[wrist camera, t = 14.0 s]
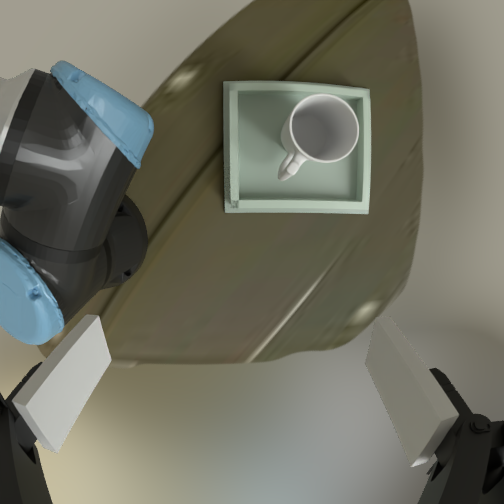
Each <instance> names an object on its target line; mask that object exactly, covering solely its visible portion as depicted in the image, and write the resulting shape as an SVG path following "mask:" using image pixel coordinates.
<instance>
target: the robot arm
mask: <svg viewBox="0 0 504 504" xmlns="http://www.w3.org/2000/svg"><path fill="white" fill-rule="evenodd" d="M50 72H51V74H49V73H45V72H42V71H40V70H37V69H33V68H31V69H29V70H28V71H26V72H24V73H22V74H20V75H18V76H16V77H14V78H12V79H8V80H7V79H4V78H0V206H3V209H2V213H1V218H0V325H1V327H2V328H3V329H4V330H6V331H7V332H8V333H9V334H10V335H12V336H13V337H14V338H16V339H18V340H19V341H21V342H24V343H26V344H35V345H40V344H43V343H45V342H47V341H48V340H50V339H51V338H52V337H53V336H54V335H56V334H57V333H59V332H61V331H62V329H63V327H64V326H65V325H66V324H67V323H68V322H69V321H70V320H71V319H72V318H73V317H74V315H75V314H76V313H77V312H78V311H79V310H80V309H81V308H82V307H83V306H84V305H85V304H86V303H87V302H88V301H89V300H90V299H91V298H92V297H93V296H94V295H95V294H96V293H97V292H98V291H99V290H102V289H106V288H110V287H114V286H118V285H120V284H122V283H124V282H126V281H127V280H128V279H130V278H131V277H132V276H133V275H134V274H135V273H136V271H137V270H138V269H139V268H140V266H141V265H142V263H143V261H144V258H145V255H146V251H147V244H148V238H147V230H146V225H145V222H144V219H143V217H142V215H141V213H140V211H139V209H138V208H137V206H136V205H135V204H134V203H133V202H132V201H131V200H130V199H129V198H128V197H127V196H126V195H125V193H126V191H127V189H128V186H129V184H130V182H131V180H132V178H133V176H134V174H135V172H136V170H137V169H139V168H140V166H141V162H140V161H141V159H142V157H143V154H144V152H145V150H146V148H147V146H148V144H149V142H150V140H151V138H152V135H153V132H154V123H153V120H152V118H151V116H150V115H149V114H148V113H147V112H146V111H145V110H143V109H142V108H141V107H139V106H138V105H136V104H135V103H133V102H132V101H130V100H129V99H128V98H126V97H124V96H123V95H121V94H120V93H118V92H117V91H115V90H114V89H112V88H110V87H109V86H107V85H106V84H104V83H102V82H101V81H99V80H97V79H96V78H94V77H92V76H91V75H89V74H87V73H85V72H84V71H82V70H80V69H78V68H76V67H75V66H73V65H72V64H70V63H68V62H66V61H59V62H57V63H56V65H55V66H52V67H51V70H50ZM110 362H111V357H110V354H109V350H108V347H107V344H106V340H105V337H104V333H103V329H102V326H101V322H100V318H99V316H98V315H88V314H86V315H85V316H84V318H83V319H82V320H81V321H80V322H79V323H78V324H77V325H76V326H75V327H74V328H73V329H72V330H71V332H70V333H69V334H68V335H67V336H66V337H65V338H64V339H63V340H62V341H61V343H60V344H59V345H58V346H57V347H56V348H55V349H54V350H53V352H52V353H51V354H50V355H49V356H48V357H47V358H46V360H45V361H44V362H40V363H39V364H37V365H36V366H34V367H32V369H31V370H30V371H29V372H28V373H27V376H25V377H24V378H23V379H22V382H20V383H19V384H18V385H17V387H16V388H15V389H14V390H13V391H12V392H11V394H10V395H9V396H8V398H7V399H6V400H4V398H3V396H2V395H1V393H0V504H53V503H52V500H51V497H50V494H49V491H48V488H47V485H46V481H45V478H44V474H43V470H42V467H41V463H40V458H39V454H38V450H37V448H36V446H35V444H34V443H35V442H36V440H38V441H39V442H40V444H41V445H42V446H43V447H44V448H45V449H48V450H50V451H53V452H55V453H58V451H59V450H60V447H61V445H62V444H63V442H64V440H65V438H66V437H67V435H68V433H69V431H70V429H71V428H72V426H73V424H74V422H75V420H76V419H77V417H78V415H79V413H80V412H81V410H82V408H83V407H84V405H85V403H86V402H87V400H88V398H89V396H90V395H91V393H92V391H93V390H94V388H95V386H96V385H97V383H98V381H99V380H100V378H101V377H102V375H103V373H104V371H105V370H106V368H107V367H108V365H109V364H110ZM365 365H366V367H367V369H368V371H369V373H370V375H371V377H372V379H373V381H374V384H375V386H376V388H377V390H378V392H379V394H380V396H381V399H382V401H383V403H384V405H385V408H386V410H387V412H388V414H389V416H390V419H391V421H392V423H393V425H394V428H395V430H396V432H397V434H398V437H399V439H400V442H401V444H402V446H403V449H404V451H405V454H406V456H407V458H408V461H409V463H410V466H411V467H413V466H416V465H419V464H422V463H425V462H428V461H429V460H430V458H431V457H432V455H433V454H434V453H435V455H436V457H437V461H436V462H435V463H434V464H433V466H432V467H431V468H430V469H429V471H428V472H427V474H428V475H429V474H430V473H431V474H430V477H429V479H428V481H427V484H426V486H425V488H424V491H423V493H422V495H421V498H420V500H419V502H418V504H504V421H496V422H491V421H490V420H489V419H488V418H487V417H486V416H483V415H481V414H473V413H472V412H471V410H470V409H469V407H468V406H467V405H466V403H465V402H464V400H463V399H462V397H461V396H460V394H459V393H458V391H456V390H455V387H454V386H453V385H452V384H451V382H450V381H449V379H448V378H447V376H446V375H445V374H444V373H442V372H441V371H440V370H438V369H437V368H433V369H428V367H427V366H426V365H425V363H424V362H423V361H422V359H421V358H420V356H419V355H418V354H417V352H416V351H415V349H414V348H413V347H412V345H411V344H410V343H409V341H408V340H407V338H406V337H405V336H404V335H403V333H402V332H401V330H400V329H399V328H398V326H397V325H396V324H395V322H394V321H393V320H392V319H391V317H390V316H387V317H376V318H375V322H374V328H373V332H372V337H371V341H370V345H369V350H368V354H367V358H366V362H365ZM431 471H432V472H431Z"/></svg>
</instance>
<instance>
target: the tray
mask: <svg viewBox="0 0 504 504" xmlns="http://www.w3.org/2000/svg"><path fill="white" fill-rule="evenodd" d="M317 93H326V94H331V95H334V96H337V97H339V98H341V99H342V100H344V101H345V102H346V103H347V104H348V105H349V106H350V107H351V108H352V110H353V111H354V113H355V115H356V117H357V120H358V124H359V136H358V140H357V143H356V145H355V147H354V149H353V150H352V151H351V152H350V153H349V154H348V155H347V156H346V157H344V158H343V159H341V160H339V161H336V162H331V163H322V162H315V161H308V160H306V161H305V162H303V163H302V165H301V166H300V167H299V169H298V171H297V172H296V174H295V175H292V176H291V177H289V178H288V179H286V180H284V181H280V180H279V179H278V177H277V176H278V170H279V167H280V164H281V163H282V161H283V160H284V159H285V157H286V156H287V154H288V152H287V151H286V150H285V148H284V147H283V144H282V141H281V130H282V127H283V125H284V123H285V121H286V120H287V118H288V116H289V115H290V113H291V111H292V110H293V109H294V107H295V106H296V105H297V104H298V103H299V102H300V101H301V100H302V99H304V98H305V97H307V96H309V95H312V94H317ZM223 119H224V191H225V213H244V212H297V213H352V214H368V210H369V195H370V171H371V111H370V91H369V89H364V88H357V87H350V86H341V85H332V84H322V83H309V82H291V81H226V82H223Z"/></svg>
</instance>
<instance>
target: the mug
mask: <svg viewBox="0 0 504 504" xmlns="http://www.w3.org/2000/svg"><path fill="white" fill-rule="evenodd" d="M358 136H359V124H358V120H357V117H356V115H355V113H354V111H353V110H352V108H351V107H350V106H349V105H348V104H347V103H346V102H345V101H344V100H342V99H341V98H339V97H337V96H334V95H331V94H326V93H317V94H312V95H309V96H307V97H305V98H304V99H302V100H301V101H300V102H299V103H298V104H297V105H296V106H295V107H294V109H293V110H292V111H291V113H290V115H289V116H288V118H287V120H286V121H285V123H284V125H283V127H282V130H281V141H282V144H283V147H284V148H285V150H286V151H287V152H288V154H287V156H286V157H285V159H284V160H283V161H282V163H281V164H280V167H279V170H278V176H277V177H278V179H279V180H280V181H284V180H286V179H288V178H289V177H291V176H292V175H295V174H296V172H297V171H298V169H299V167H300V166H301V165H302V163H303V162H305V161H306V160H308V161H315V162H322V163H331V162H336V161H339V160H341V159H343V158H344V157H346V156H347V155H348V154H349V153H350V152H351V151H352V150H353V149H354V147H355V145H356V143H357V140H358Z"/></svg>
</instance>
